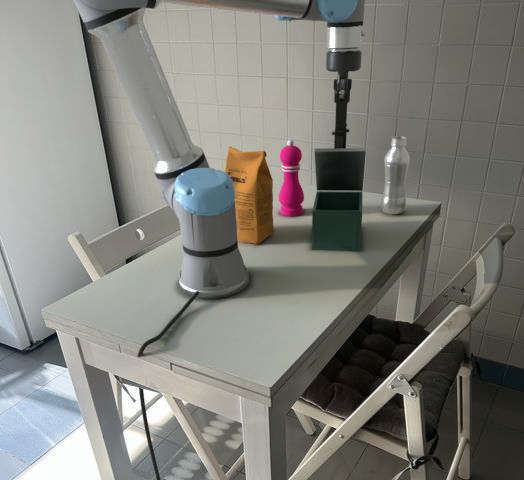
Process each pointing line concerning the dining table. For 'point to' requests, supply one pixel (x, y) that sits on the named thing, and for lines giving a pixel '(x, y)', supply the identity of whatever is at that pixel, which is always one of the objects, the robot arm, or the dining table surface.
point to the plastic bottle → (395, 176)
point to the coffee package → (251, 194)
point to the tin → (337, 220)
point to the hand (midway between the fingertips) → (339, 162)
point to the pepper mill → (291, 181)
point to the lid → (340, 169)
